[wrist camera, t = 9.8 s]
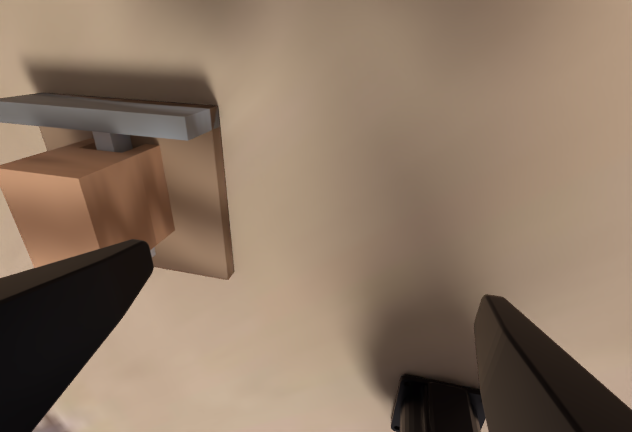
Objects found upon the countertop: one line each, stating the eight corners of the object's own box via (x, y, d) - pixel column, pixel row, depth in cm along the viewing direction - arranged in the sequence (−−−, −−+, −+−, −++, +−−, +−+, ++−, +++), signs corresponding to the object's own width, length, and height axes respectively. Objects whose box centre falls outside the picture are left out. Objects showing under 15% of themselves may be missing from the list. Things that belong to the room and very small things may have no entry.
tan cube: (175, 230, 24) (110, 282, 18) (111, 220, 25) (32, 267, 19) (159, 145, 21) (78, 178, 16) (88, 138, 22) (-11, 167, 17)
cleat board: (234, 271, 25) (211, 302, 22) (92, 247, 28) (53, 272, 25) (218, 105, 20) (184, 116, 17) (43, 92, 22) (-15, 100, 19)
